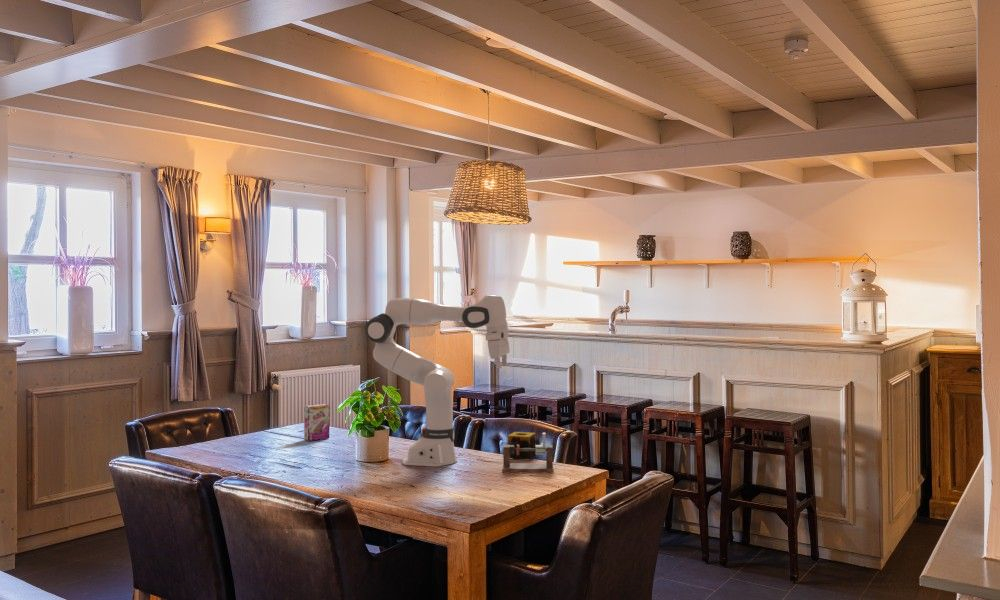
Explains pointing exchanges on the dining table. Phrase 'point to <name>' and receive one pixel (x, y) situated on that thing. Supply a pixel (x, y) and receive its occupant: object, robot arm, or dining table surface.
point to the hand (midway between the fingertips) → (501, 366)
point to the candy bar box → (316, 422)
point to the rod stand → (527, 466)
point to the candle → (522, 444)
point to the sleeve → (541, 446)
